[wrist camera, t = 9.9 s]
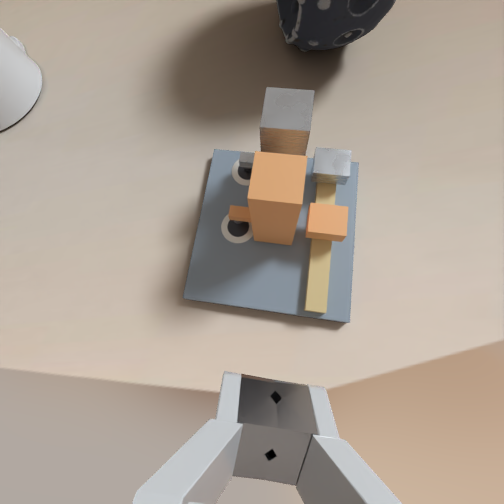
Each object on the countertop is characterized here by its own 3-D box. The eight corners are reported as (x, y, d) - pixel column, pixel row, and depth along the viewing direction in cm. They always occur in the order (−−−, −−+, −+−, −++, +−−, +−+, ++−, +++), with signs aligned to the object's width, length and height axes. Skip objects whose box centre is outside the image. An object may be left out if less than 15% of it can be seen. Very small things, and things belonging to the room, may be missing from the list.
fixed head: (239, 185, 32) (226, 124, 23) (244, 155, 33) (234, 84, 24) (341, 196, 31) (372, 136, 22) (343, 165, 32) (374, 94, 23)
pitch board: (185, 299, 30) (179, 296, 28) (216, 155, 35) (212, 143, 33) (346, 322, 29) (352, 322, 27) (355, 168, 34) (361, 157, 31)
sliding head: (229, 237, 30) (211, 194, 21) (235, 204, 31) (220, 148, 22) (337, 251, 29) (371, 212, 20) (340, 215, 30) (373, 162, 21)
